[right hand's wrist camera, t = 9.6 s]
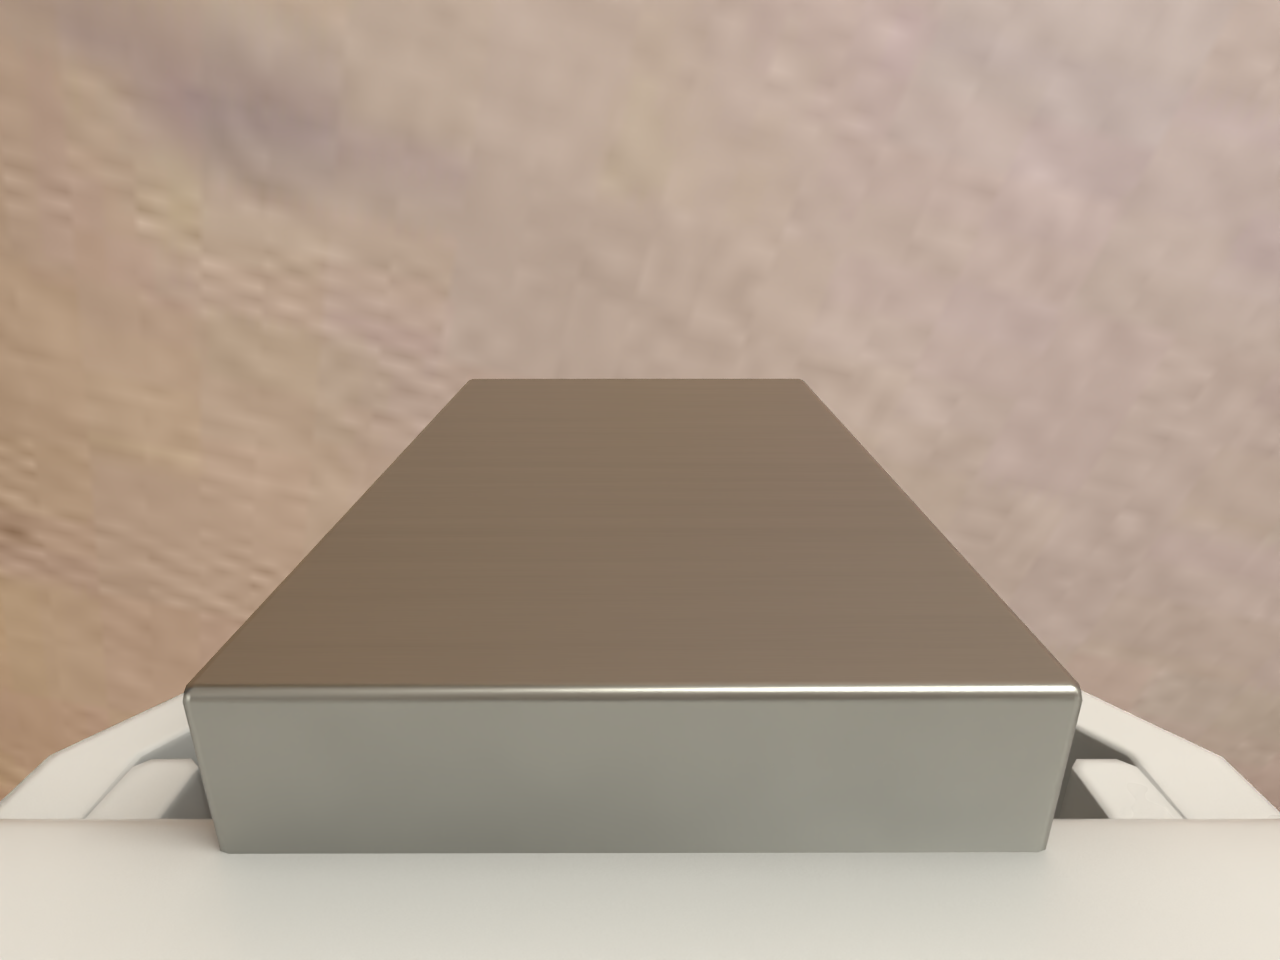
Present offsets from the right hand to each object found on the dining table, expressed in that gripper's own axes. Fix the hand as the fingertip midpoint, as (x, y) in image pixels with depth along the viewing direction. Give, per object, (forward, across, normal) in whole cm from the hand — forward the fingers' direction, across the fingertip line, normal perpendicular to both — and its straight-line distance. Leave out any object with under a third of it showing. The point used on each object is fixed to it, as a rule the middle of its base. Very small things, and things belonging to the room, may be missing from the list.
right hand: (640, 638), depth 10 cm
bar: (+3, 0, -10) cm, 10 cm away
